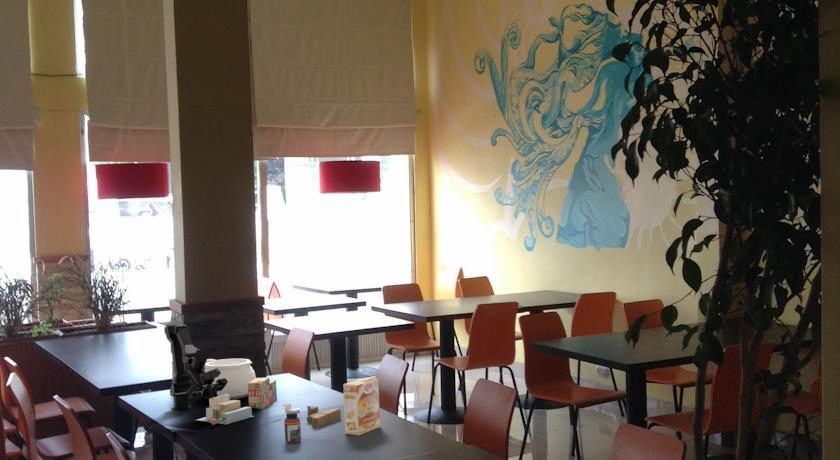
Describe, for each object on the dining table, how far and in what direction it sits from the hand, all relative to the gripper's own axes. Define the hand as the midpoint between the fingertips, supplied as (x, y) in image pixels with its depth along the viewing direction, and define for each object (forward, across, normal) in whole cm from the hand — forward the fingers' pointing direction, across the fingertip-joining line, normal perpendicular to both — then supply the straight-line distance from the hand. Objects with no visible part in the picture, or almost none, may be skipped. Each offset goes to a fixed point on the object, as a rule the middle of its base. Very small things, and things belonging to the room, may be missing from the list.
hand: (217, 402), depth 369 cm
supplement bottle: (+46, -14, -35) cm, 59 cm away
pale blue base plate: (+8, -3, +3) cm, 9 cm away
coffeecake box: (+55, +12, -44) cm, 71 cm away
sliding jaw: (+6, 0, +3) cm, 6 cm away
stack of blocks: (+2, +31, +9) cm, 32 cm away
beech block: (+9, 0, 0) cm, 9 cm away
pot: (-20, +38, +30) cm, 52 cm away
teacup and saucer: (+21, +22, -10) cm, 32 cm away
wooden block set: (+35, +15, -23) cm, 45 cm away
